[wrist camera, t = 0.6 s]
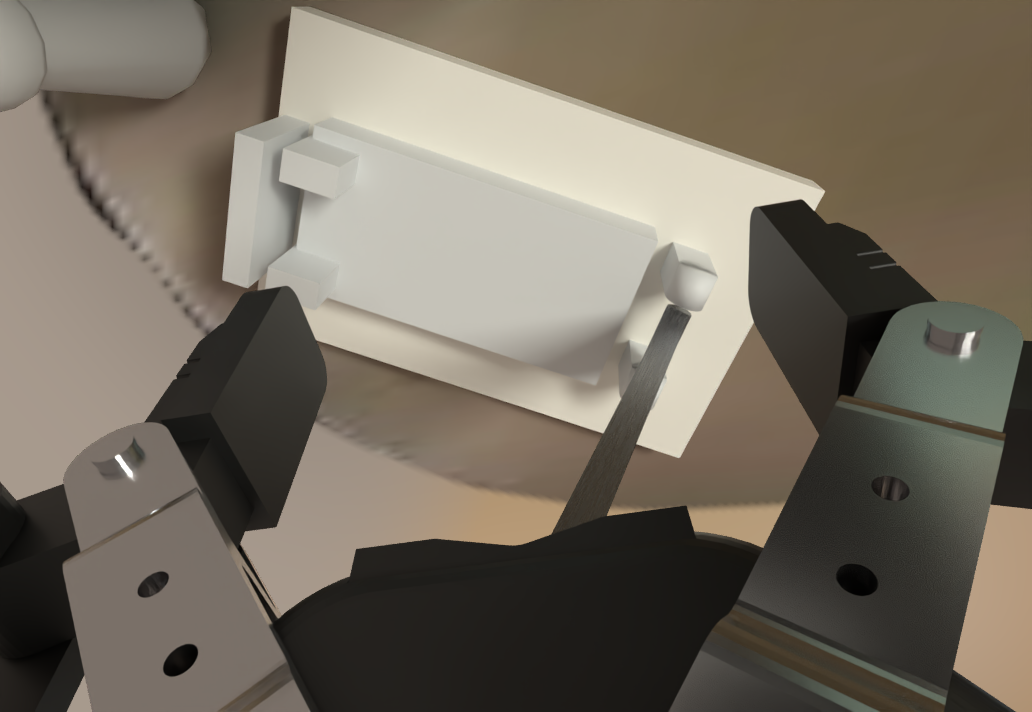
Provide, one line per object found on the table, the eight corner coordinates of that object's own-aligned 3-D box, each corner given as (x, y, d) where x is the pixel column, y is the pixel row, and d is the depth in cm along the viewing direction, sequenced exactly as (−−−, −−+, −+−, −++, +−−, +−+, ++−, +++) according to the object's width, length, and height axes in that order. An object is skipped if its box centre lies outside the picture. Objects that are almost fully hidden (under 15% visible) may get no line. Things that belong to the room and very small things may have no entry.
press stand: (309, 6, 31) (238, 7, 25) (812, 180, 32) (861, 222, 26) (269, 305, 38) (208, 361, 32) (676, 437, 39) (689, 515, 33)
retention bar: (537, 550, 15) (586, 575, 15) (669, 301, 31) (693, 312, 31) (500, 633, 16) (544, 658, 16) (644, 354, 32) (666, 365, 32)
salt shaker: (101, 55, 33) (-165, 84, 21) (122, -67, 30) (-170, -109, 19) (213, 114, 34) (12, 172, 22) (243, 0, 31) (32, -2, 19)
